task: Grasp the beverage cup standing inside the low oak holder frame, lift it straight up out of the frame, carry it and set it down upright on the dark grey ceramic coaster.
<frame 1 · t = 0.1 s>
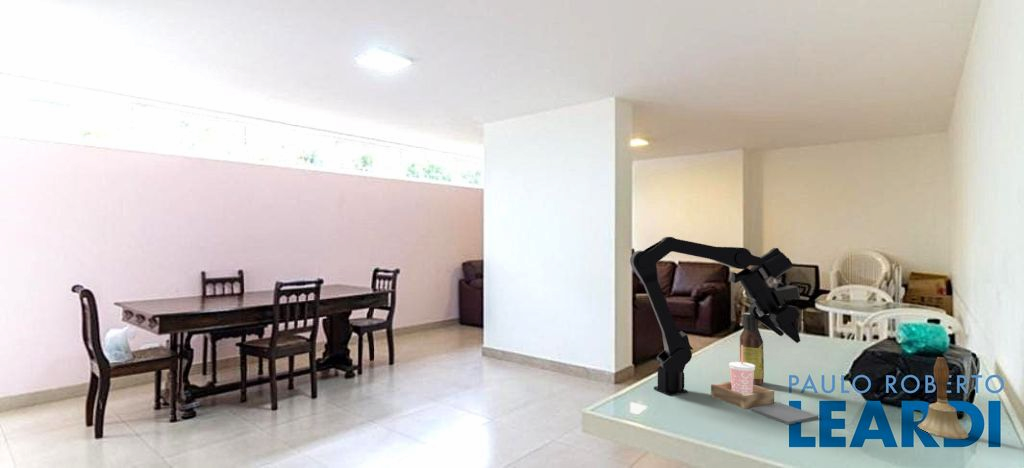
hand: (790, 338, 134), 15 cm above the table, tool tilted 30°, fingers open, 9 cm apart
coaster: (783, 414, 119), on the table
hand bell: (942, 432, 109), on the table
sauce bottle: (751, 383, 145), on the table
beverage cup: (742, 400, 130), resting in holder
holder: (742, 399, 130), on the table
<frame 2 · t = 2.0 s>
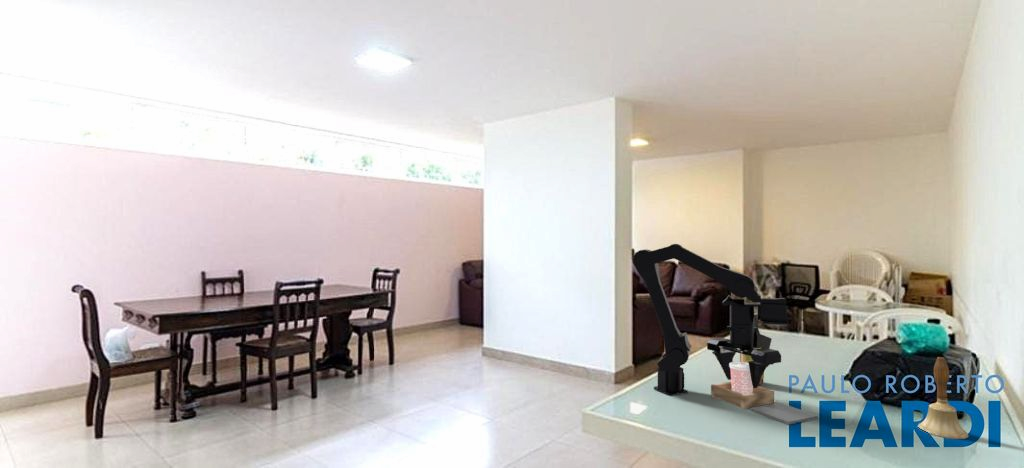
hand: (742, 383, 130), 4 cm above the table, tool pointing down, fingers closed on beverage cup, 8 cm apart
beverage cup: (742, 400, 130), resting in holder, touching gripper
everything else where it was.
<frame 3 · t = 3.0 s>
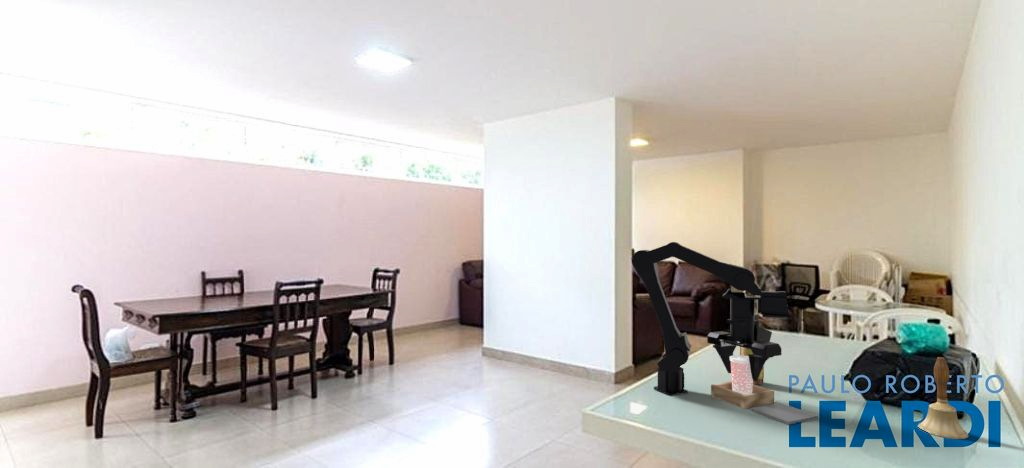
hand: (742, 376, 130), 6 cm above the table, tool pointing down, fingers closed on beverage cup, 7 cm apart
beverage cup: (742, 393, 130), point 2 cm above the table, touching gripper
everything else where it was.
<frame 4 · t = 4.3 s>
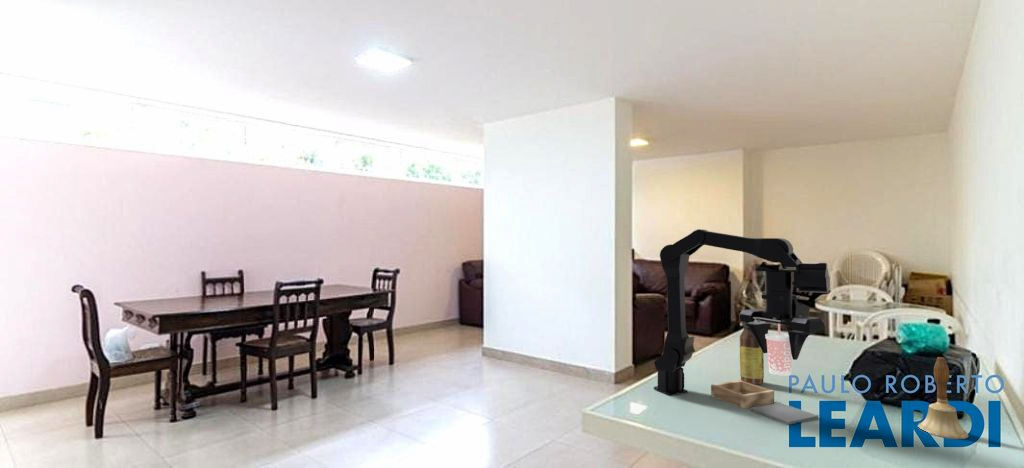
hand: (779, 356, 120), 13 cm above the table, tool pointing down, fingers closed on beverage cup, 7 cm apart
beverage cup: (780, 374, 120), point 9 cm above the table, touching gripper
everything else where it was.
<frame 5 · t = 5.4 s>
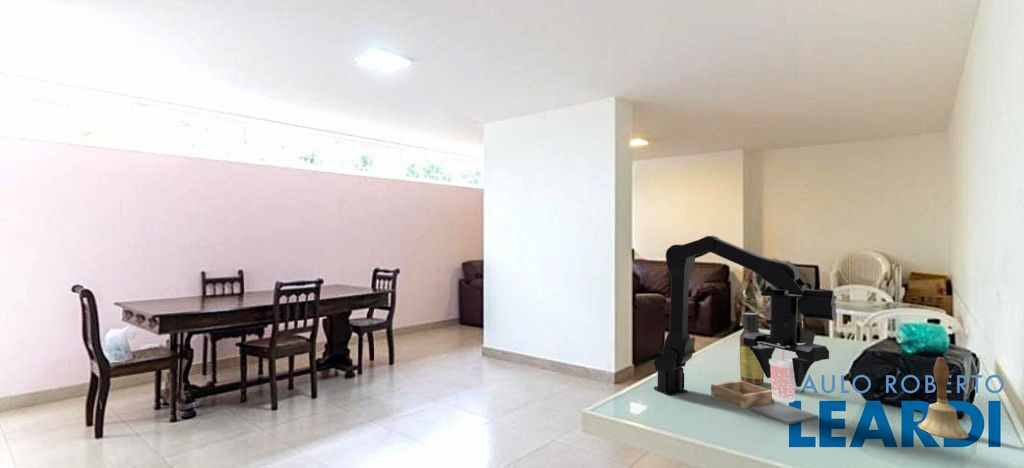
hand: (783, 382, 119), 8 cm above the table, tool pointing down, fingers closed on beverage cup, 7 cm apart
beverage cup: (783, 400, 119), point 3 cm above the table, touching gripper
everything else where it was.
when the fingers open (6 cm above the table, at t = 6.4 s): beverage cup drops 1 cm, resting on coaster.
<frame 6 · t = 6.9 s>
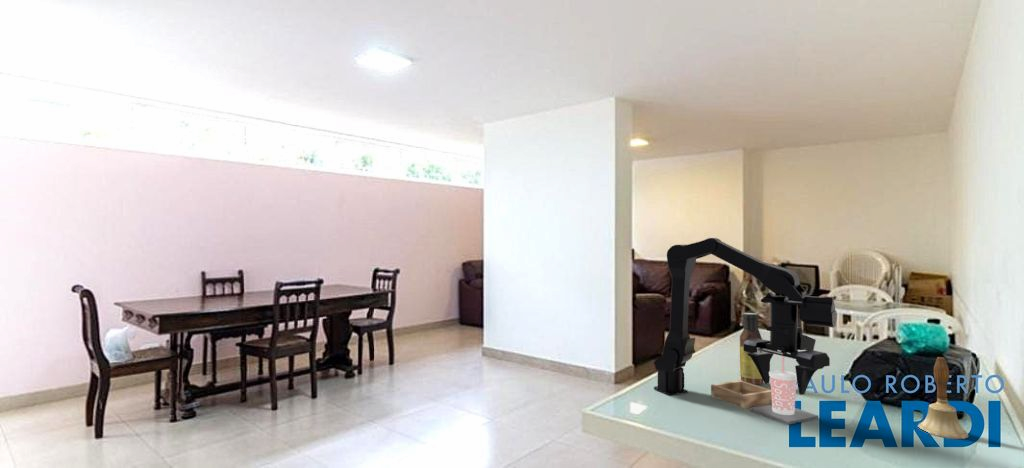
hand: (783, 388, 119), 6 cm above the table, tool pointing down, fingers open, 9 cm apart
beverage cup: (783, 412, 119), resting on coaster
everything else where it was.
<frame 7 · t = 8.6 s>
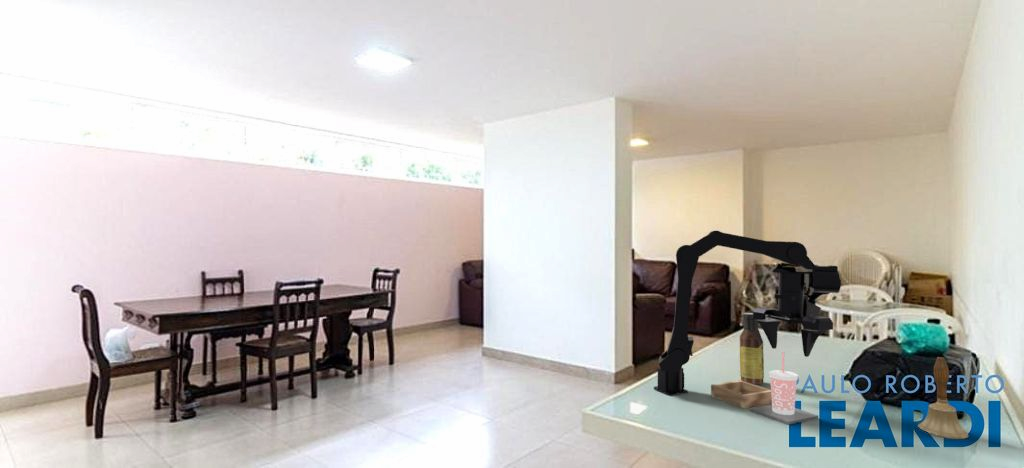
hand: (789, 352, 128), 13 cm above the table, tool pointing down, fingers open, 9 cm apart
nothing on the table moved.
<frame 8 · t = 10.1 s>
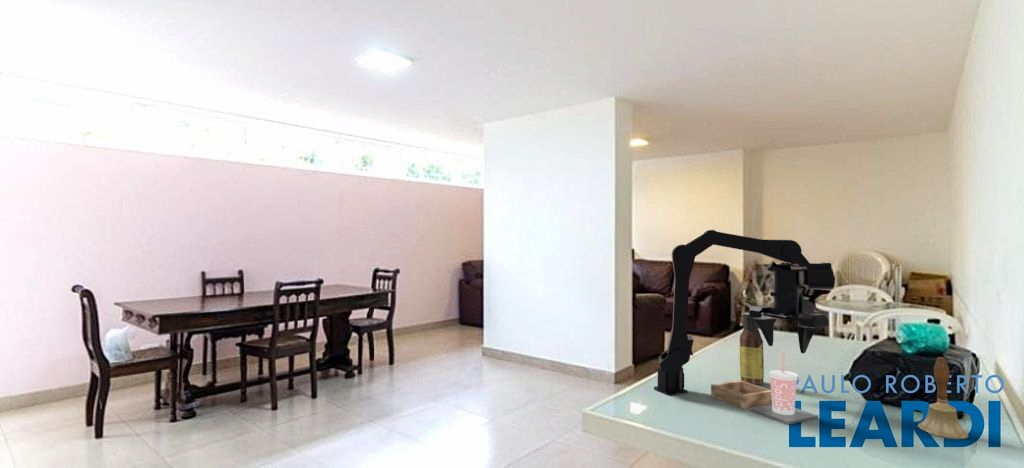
hand: (786, 349, 129), 13 cm above the table, tool pointing down, fingers open, 9 cm apart
nothing on the table moved.
at the end: beverage cup 0.1 cm from the coaster (horizontally); beverage cup tilted 0°; beverage cup resting on coaster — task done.
